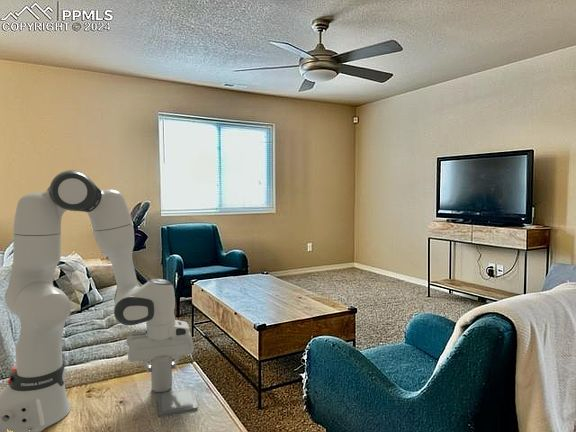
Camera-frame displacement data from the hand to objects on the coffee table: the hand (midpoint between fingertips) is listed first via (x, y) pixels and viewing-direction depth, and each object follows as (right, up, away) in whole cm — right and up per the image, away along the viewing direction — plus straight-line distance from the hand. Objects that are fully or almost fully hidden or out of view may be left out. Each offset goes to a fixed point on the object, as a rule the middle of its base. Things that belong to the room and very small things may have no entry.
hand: (161, 369), depth 128 cm
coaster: (+7, -7, -7) cm, 12 cm away
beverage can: (0, -7, +1) cm, 6 cm away
